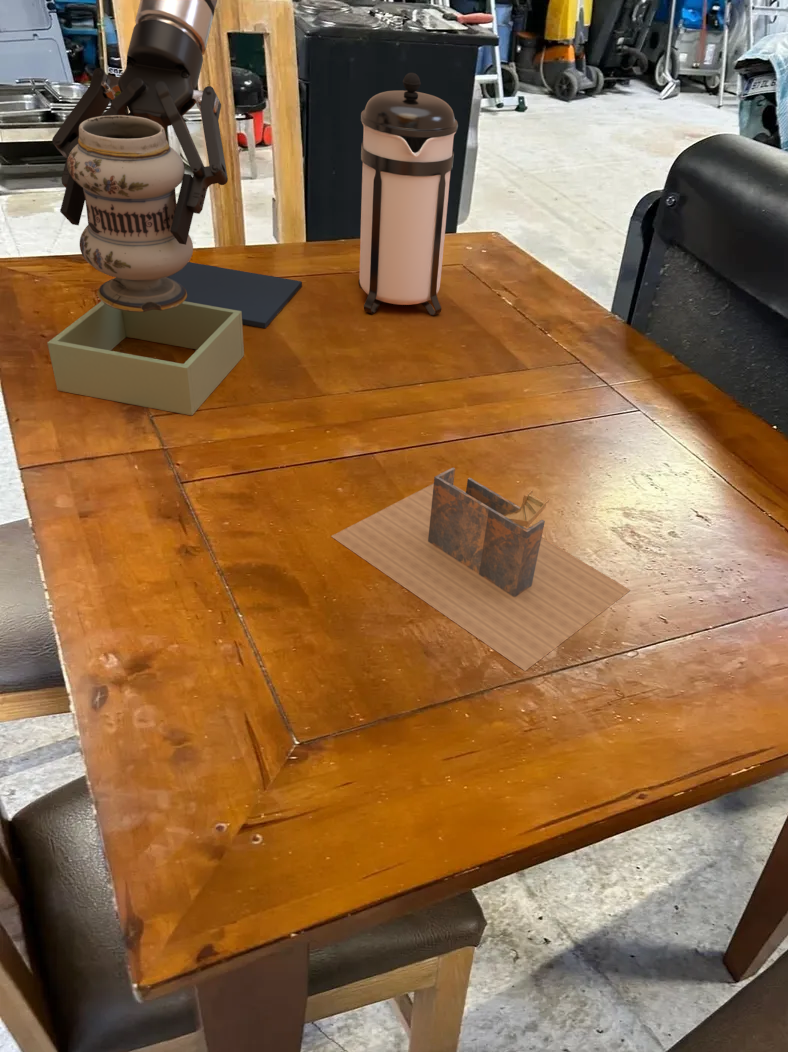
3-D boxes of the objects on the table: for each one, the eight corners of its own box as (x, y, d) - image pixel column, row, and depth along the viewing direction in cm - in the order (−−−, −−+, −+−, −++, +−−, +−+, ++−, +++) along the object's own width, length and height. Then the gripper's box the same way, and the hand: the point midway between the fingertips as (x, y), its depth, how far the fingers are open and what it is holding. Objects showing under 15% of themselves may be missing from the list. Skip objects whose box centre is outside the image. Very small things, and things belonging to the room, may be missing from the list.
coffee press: (472, 303, 135) (498, 79, 115) (401, 330, 125) (416, 91, 106) (390, 267, 143) (401, 52, 123) (316, 290, 133) (316, 61, 113)
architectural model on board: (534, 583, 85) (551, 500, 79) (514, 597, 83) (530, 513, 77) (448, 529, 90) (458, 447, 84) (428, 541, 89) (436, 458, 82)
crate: (57, 390, 104) (46, 342, 100) (123, 333, 116) (116, 288, 112) (192, 415, 102) (187, 368, 98) (244, 355, 115) (241, 311, 111)
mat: (127, 304, 123) (126, 298, 123) (176, 264, 135) (175, 259, 135) (265, 328, 121) (265, 322, 121) (302, 286, 134) (302, 281, 133)
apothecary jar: (106, 323, 97) (77, 144, 85) (75, 282, 104) (44, 111, 92) (213, 308, 102) (199, 138, 90) (176, 269, 109) (159, 107, 98)
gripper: (283, 81, 100) (240, 263, 98) (82, 48, 102) (37, 227, 100) (265, 33, 92) (218, 229, 91) (49, -1, 94) (-1, 191, 93)
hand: (123, 228), depth 96 cm, fingers closed on apothecary jar, 12 cm apart
